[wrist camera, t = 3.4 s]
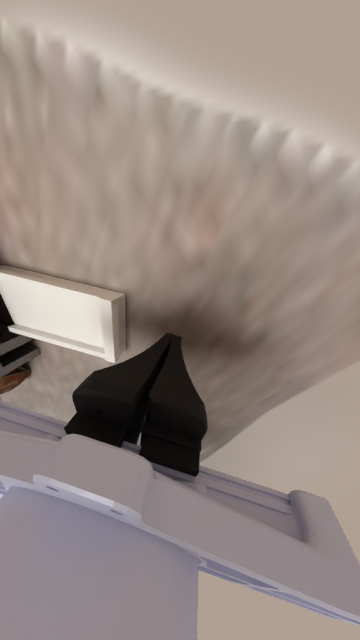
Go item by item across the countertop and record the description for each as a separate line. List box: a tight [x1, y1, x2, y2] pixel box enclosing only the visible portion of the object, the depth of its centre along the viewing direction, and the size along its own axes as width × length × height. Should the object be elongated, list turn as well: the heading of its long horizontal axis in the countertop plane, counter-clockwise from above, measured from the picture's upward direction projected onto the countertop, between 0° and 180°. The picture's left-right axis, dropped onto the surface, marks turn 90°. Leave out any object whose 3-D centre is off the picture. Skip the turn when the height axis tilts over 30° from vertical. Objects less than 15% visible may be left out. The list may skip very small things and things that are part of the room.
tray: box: [0, 265, 126, 363], centre depth 13 cm, size 12×6×2 cm, turn 79°
